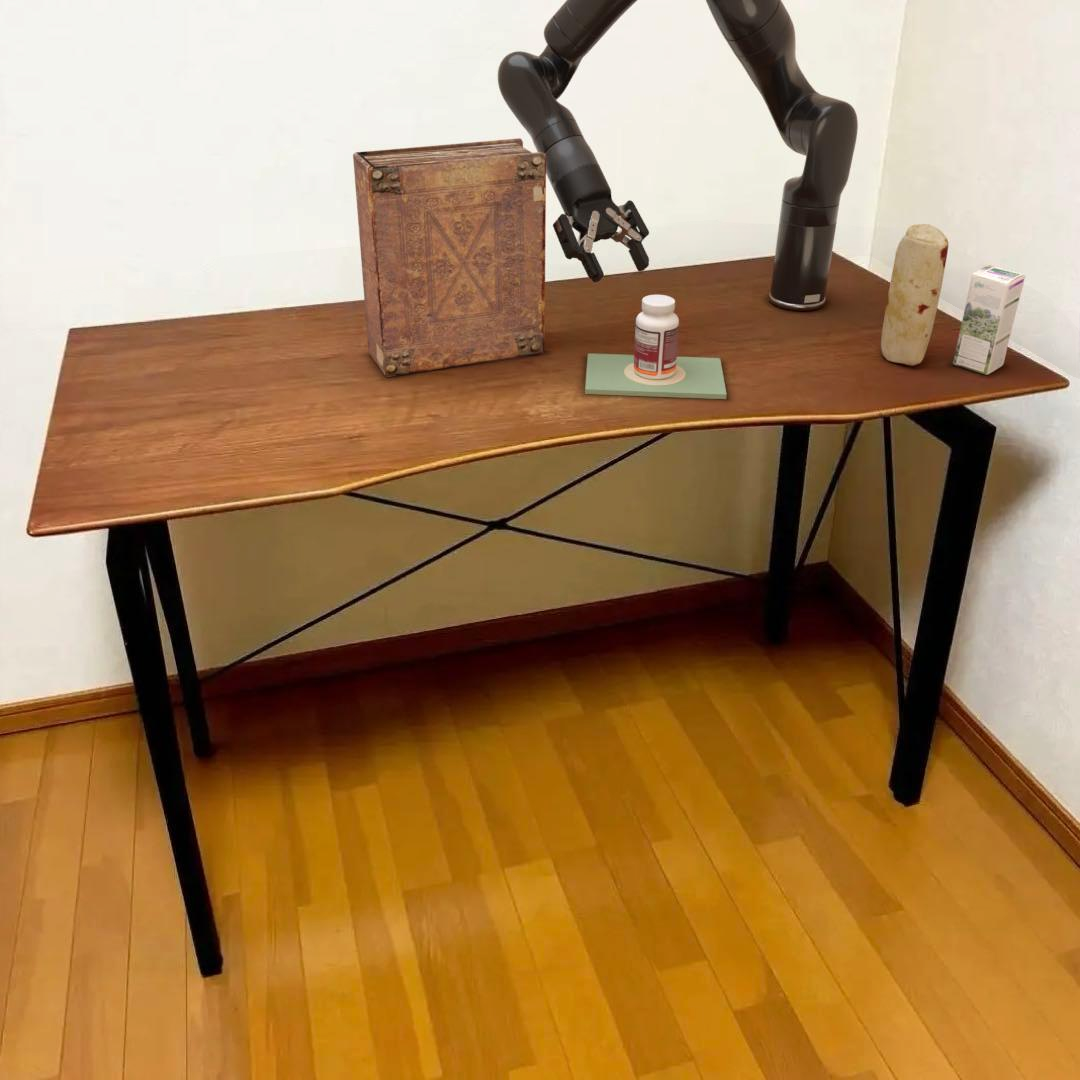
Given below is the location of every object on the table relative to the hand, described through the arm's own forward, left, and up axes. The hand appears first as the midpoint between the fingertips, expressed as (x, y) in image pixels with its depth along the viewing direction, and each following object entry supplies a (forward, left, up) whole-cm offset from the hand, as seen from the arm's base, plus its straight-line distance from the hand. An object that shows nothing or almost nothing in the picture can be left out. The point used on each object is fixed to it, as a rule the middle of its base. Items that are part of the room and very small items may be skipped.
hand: (622, 273), depth 163 cm
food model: (-5, +43, -14) cm, 46 cm away
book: (0, -25, -14) cm, 28 cm away
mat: (+6, +5, -13) cm, 16 cm away
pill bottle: (+6, +5, -13) cm, 15 cm away
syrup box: (-3, +54, -14) cm, 56 cm away
